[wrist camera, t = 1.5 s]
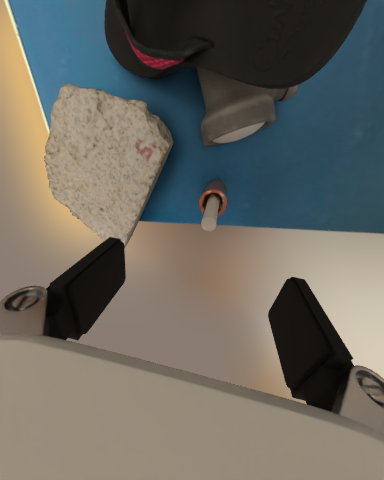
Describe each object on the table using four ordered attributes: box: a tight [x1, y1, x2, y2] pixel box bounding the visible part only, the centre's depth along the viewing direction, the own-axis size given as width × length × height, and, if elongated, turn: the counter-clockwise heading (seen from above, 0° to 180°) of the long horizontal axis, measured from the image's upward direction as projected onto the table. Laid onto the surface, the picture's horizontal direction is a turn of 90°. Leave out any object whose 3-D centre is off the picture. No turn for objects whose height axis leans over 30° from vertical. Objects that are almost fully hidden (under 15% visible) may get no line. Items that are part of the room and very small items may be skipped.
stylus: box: [201, 193, 219, 231], centre depth 21 cm, size 1×1×13 cm
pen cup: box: [199, 180, 227, 216], centre depth 25 cm, size 3×4×7 cm
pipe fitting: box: [197, 67, 299, 146], centre depth 18 cm, size 12×8×10 cm
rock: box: [44, 84, 174, 248], centre depth 24 cm, size 20×17×10 cm
